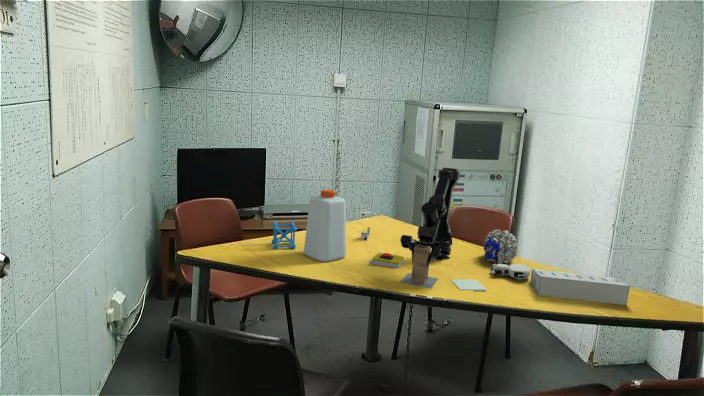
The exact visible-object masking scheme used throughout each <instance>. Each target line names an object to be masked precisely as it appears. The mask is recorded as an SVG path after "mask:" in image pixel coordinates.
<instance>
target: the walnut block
mask: <svg viewBox="0 0 704 396" xmlns="http://www.w3.org/2000/svg"><path fill="white" fill-rule="evenodd" d="M431 249H432V248H431V246H425V245H419V244H418V245H417V246H415V247H414V256H413V263H412V266H411V273H412V277H411V281H413V282H418V283H423V284H424V283H425V282H426V281H427V280H428V277H429V267H430V265H429V266H427V261H428V258H429V256H430V253H431Z"/></svg>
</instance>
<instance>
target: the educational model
mask: <svg viewBox="0 0 704 396" xmlns="http://www.w3.org/2000/svg"><path fill="white" fill-rule="evenodd" d="M483 243H484V244H483V245H484V247H483V251H484V256H483V257H484V258H485V259H486V260H487V261H488V262H489V261H491V262H493V263H494V264H496V262H497V264H509V263H511V262H512V261H513V260H514V259H515V258H516V256H517V254H516V252H517V250H518V242H517V238H516V236H514V234H513V233H510V231H509V230H506V229H505V230H501V229H499V228H497V229H495V230H492V231H490V232H488V234H487V235H486V237H485V239H484V242H483Z"/></svg>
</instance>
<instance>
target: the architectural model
mask: <svg viewBox="0 0 704 396" xmlns="http://www.w3.org/2000/svg"><path fill="white" fill-rule="evenodd" d="M370 231H371V227H370V226H368V227H367V231H366V232H365V230H363V229H362V230H361V232H360V240H365V239H364V238H367V239H366V241H369V235H370V234H371V232H370ZM361 238H363V239H361Z"/></svg>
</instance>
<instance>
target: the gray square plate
mask: <svg viewBox="0 0 704 396" xmlns="http://www.w3.org/2000/svg"><path fill="white" fill-rule="evenodd" d="M411 277H412V272H407V274H405V276H404V277H403V278H402V279H401V280H400V281H399V283H401V284H405V285H410V286H415V287H419V288H420V287H421V288H426V289H432V288H433V287H434V286H435V285H436V283H437V282H438V281H439V278H437V277H431V276H428V280H427V281H426V282H425V283H424V284H423V283H418V282H413V281H411Z"/></svg>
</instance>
